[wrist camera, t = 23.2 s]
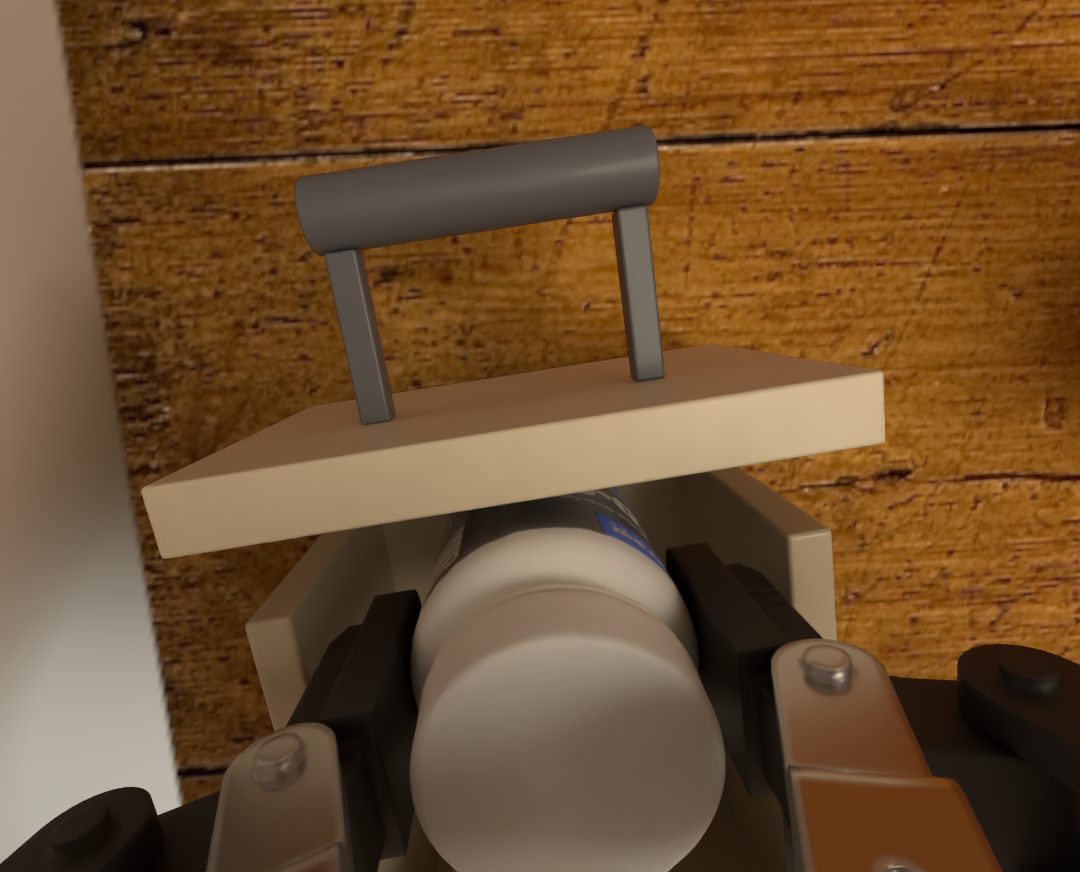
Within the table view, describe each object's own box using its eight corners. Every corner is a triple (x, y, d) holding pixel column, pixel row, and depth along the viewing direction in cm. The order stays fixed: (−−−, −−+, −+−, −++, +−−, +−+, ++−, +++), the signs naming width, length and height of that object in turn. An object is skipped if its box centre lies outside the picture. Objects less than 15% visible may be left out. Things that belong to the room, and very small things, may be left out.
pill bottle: (651, 470, 15) (818, 658, 7) (597, 631, 16) (690, 964, 8) (472, 422, 15) (429, 565, 7) (427, 590, 16) (339, 903, 7)
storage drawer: (268, 233, 16) (34, 158, 8) (698, 168, 16) (876, 32, 8) (405, 806, 20) (337, 1130, 12) (748, 748, 20) (902, 1029, 12)
